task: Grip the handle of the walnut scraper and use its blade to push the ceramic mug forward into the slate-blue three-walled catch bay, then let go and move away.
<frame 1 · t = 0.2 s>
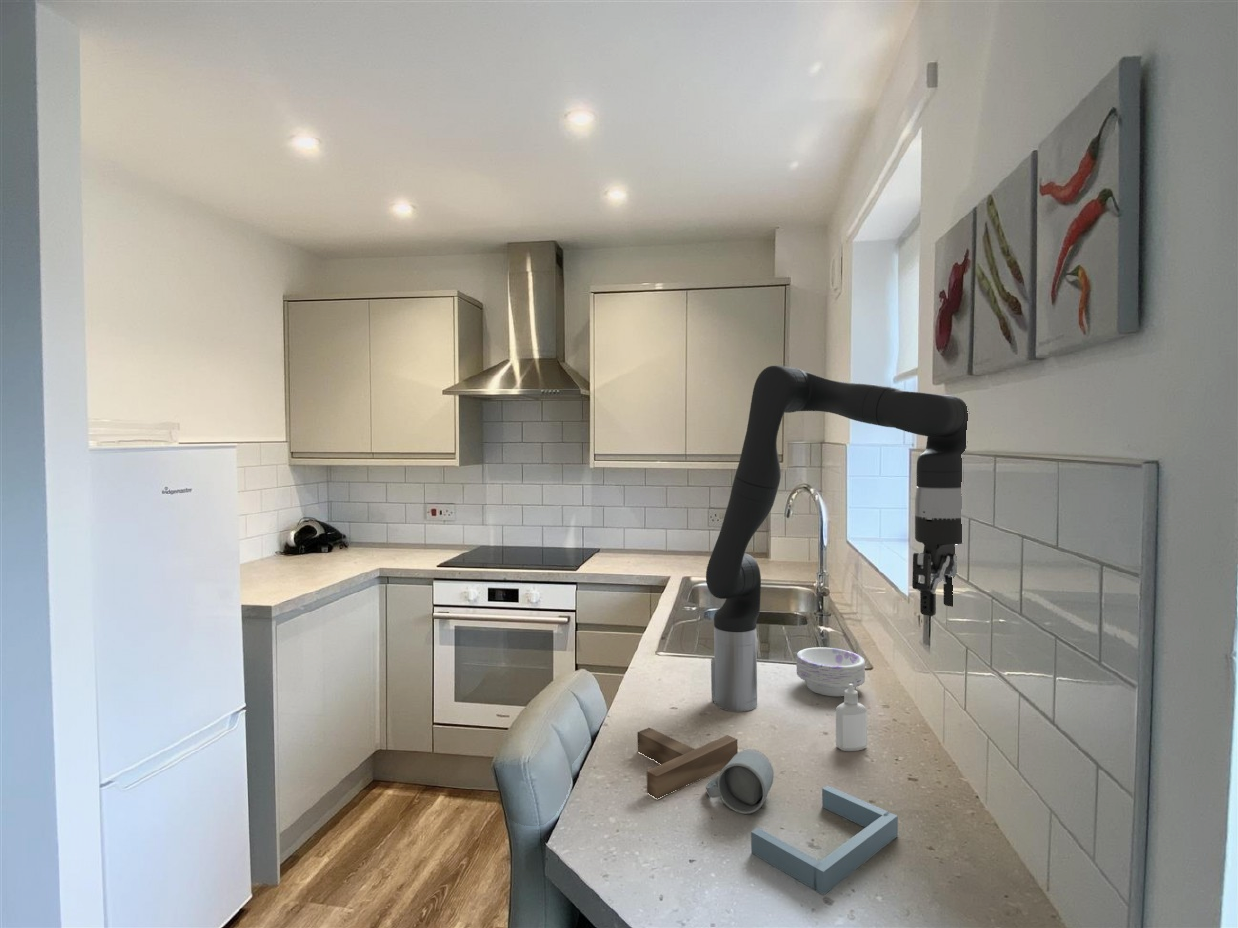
hand: (939, 610, 110), 29 cm above the counter, tool pointing down, fingers open, 8 cm apart
eye dropper bottle: (851, 748, 123), on the counter
scraper: (694, 776, 113), on the counter
paper bowls: (830, 690, 152), on the counter
ceramic mug: (739, 801, 105), on the counter
catch bay: (809, 835, 95), on the counter
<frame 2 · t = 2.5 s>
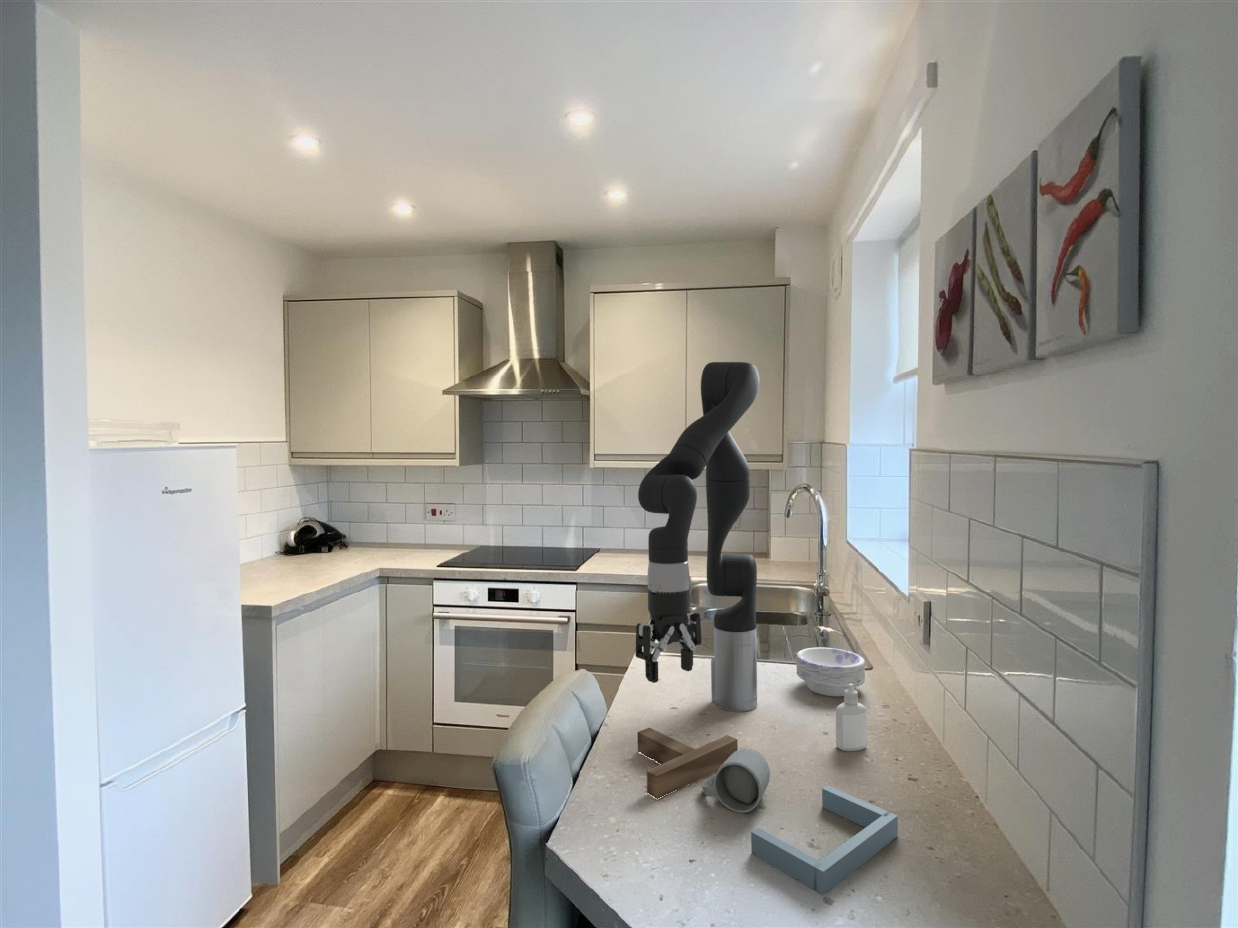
hand: (669, 675, 117), 16 cm above the counter, tool pointing down, fingers open, 8 cm apart
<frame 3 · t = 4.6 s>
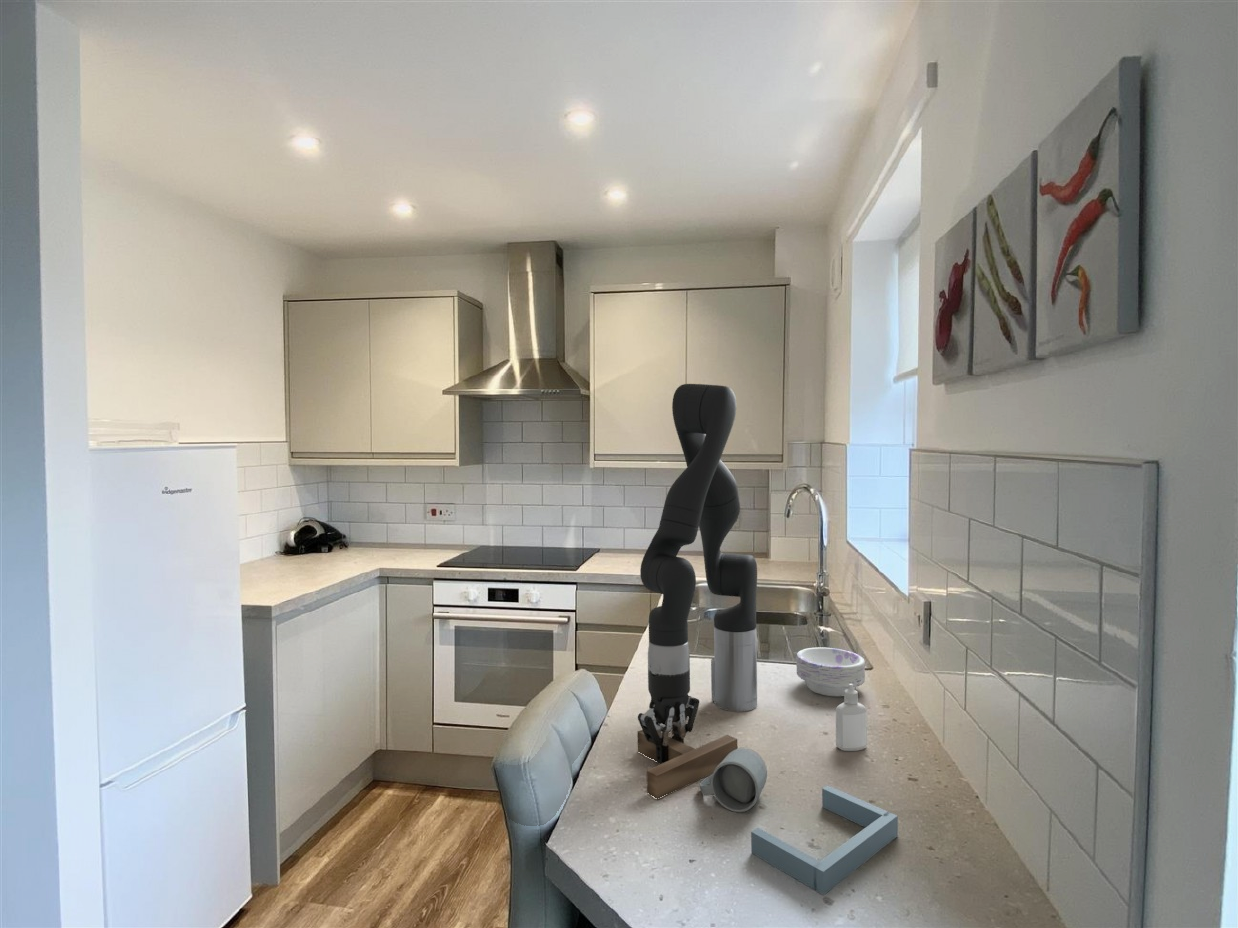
hand: (670, 760, 118), 1 cm above the counter, tool pointing down, fingers closed on scraper, 3 cm apart
scraper: (694, 776, 113), on the counter, touching gripper
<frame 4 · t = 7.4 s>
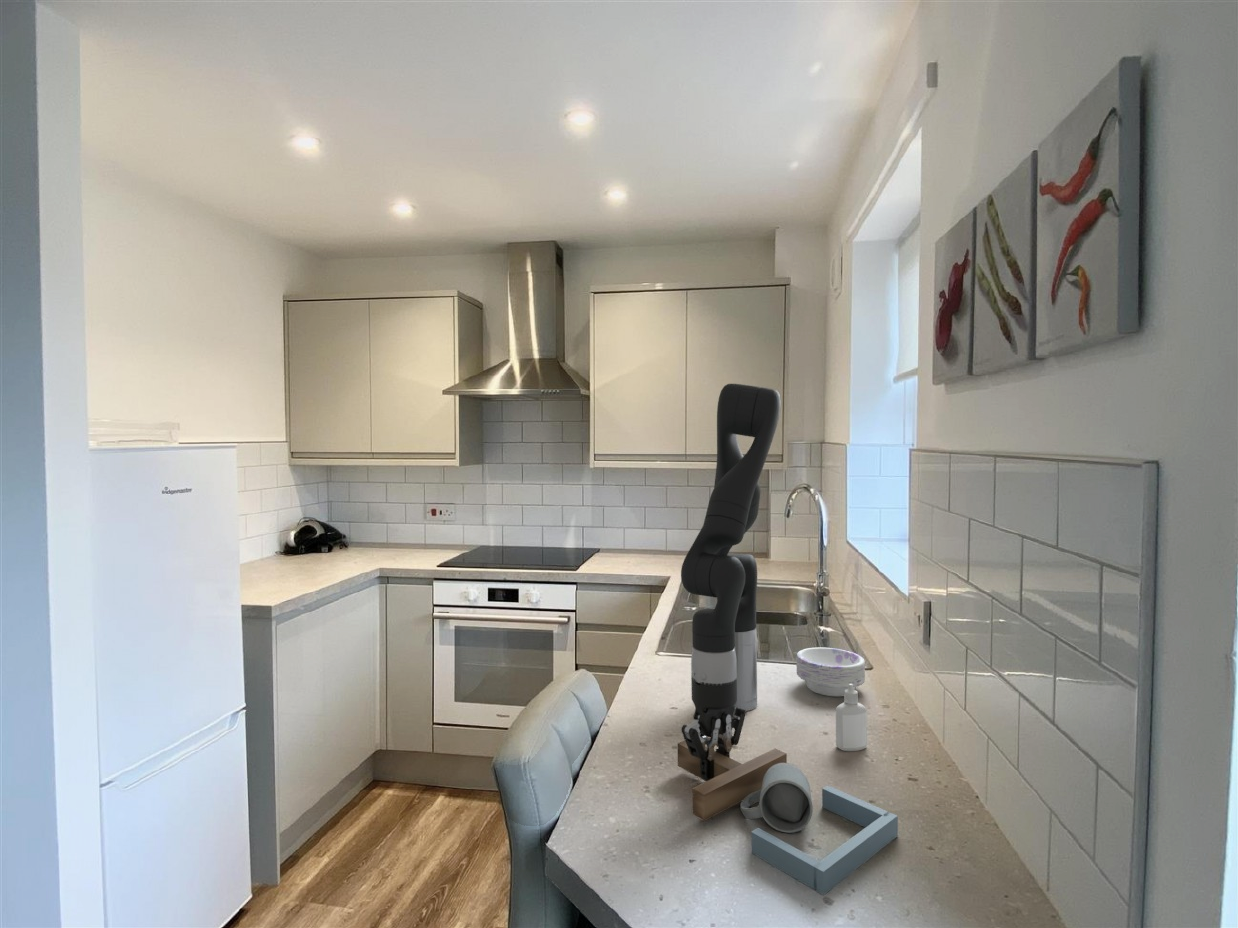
hand: (715, 775, 109), 2 cm above the counter, tool pointing down, fingers closed on scraper, 3 cm apart
scraper: (742, 794, 105), point 1 cm above the counter, touching ceramic mug, gripper
ceramic mug: (777, 819, 100), on the counter, touching scraper
everything else where it was.
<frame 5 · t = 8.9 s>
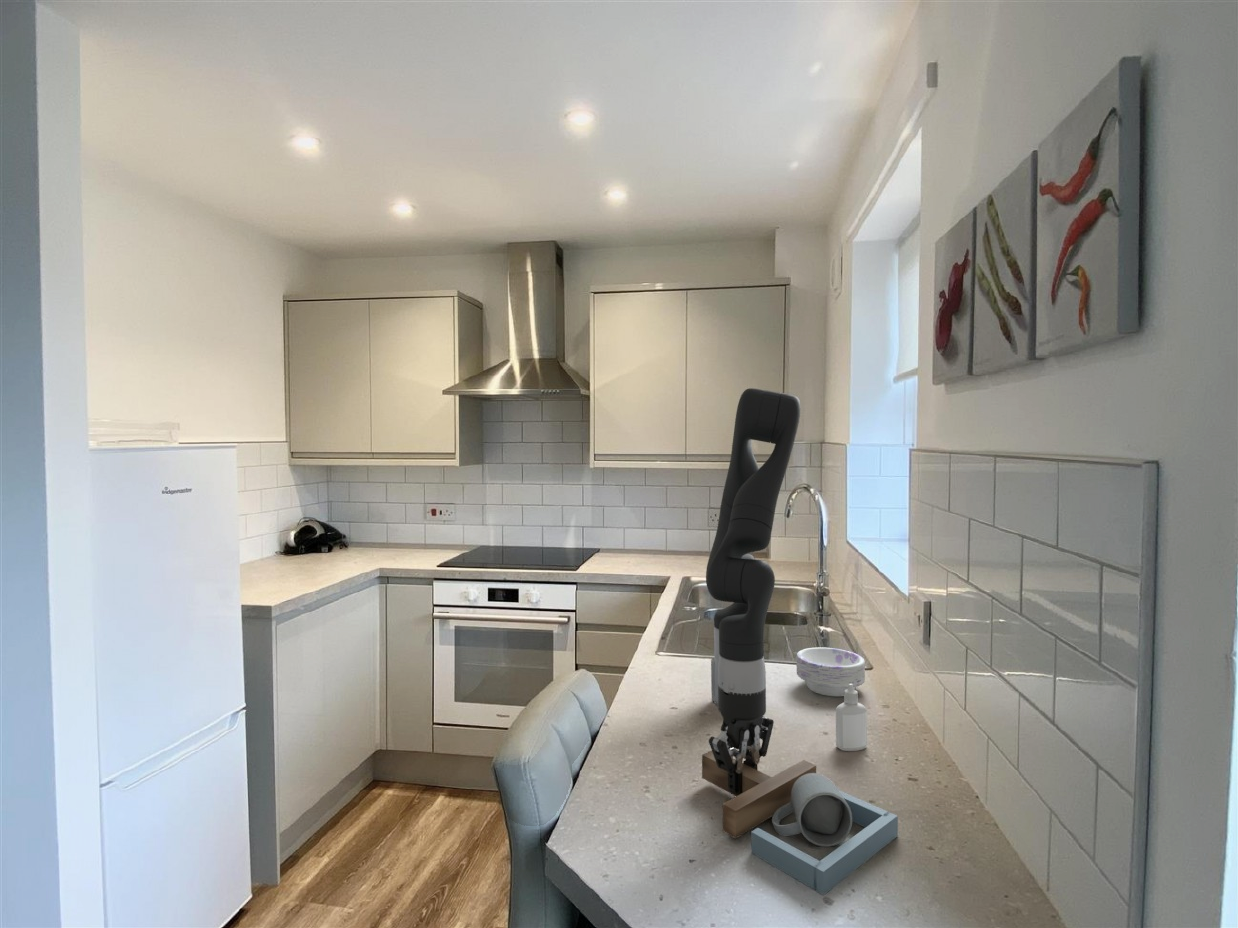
hand: (742, 788, 105), 2 cm above the counter, tool pointing down, fingers closed on scraper, 3 cm apart
scraper: (771, 808, 101), point 1 cm above the counter, touching gripper
ceramic mug: (810, 833, 96), on the counter
everything else where it was.
when the fingers open (2 cm above the counter, at t = 9.7 s): scraper drops 1 cm, on the counter.
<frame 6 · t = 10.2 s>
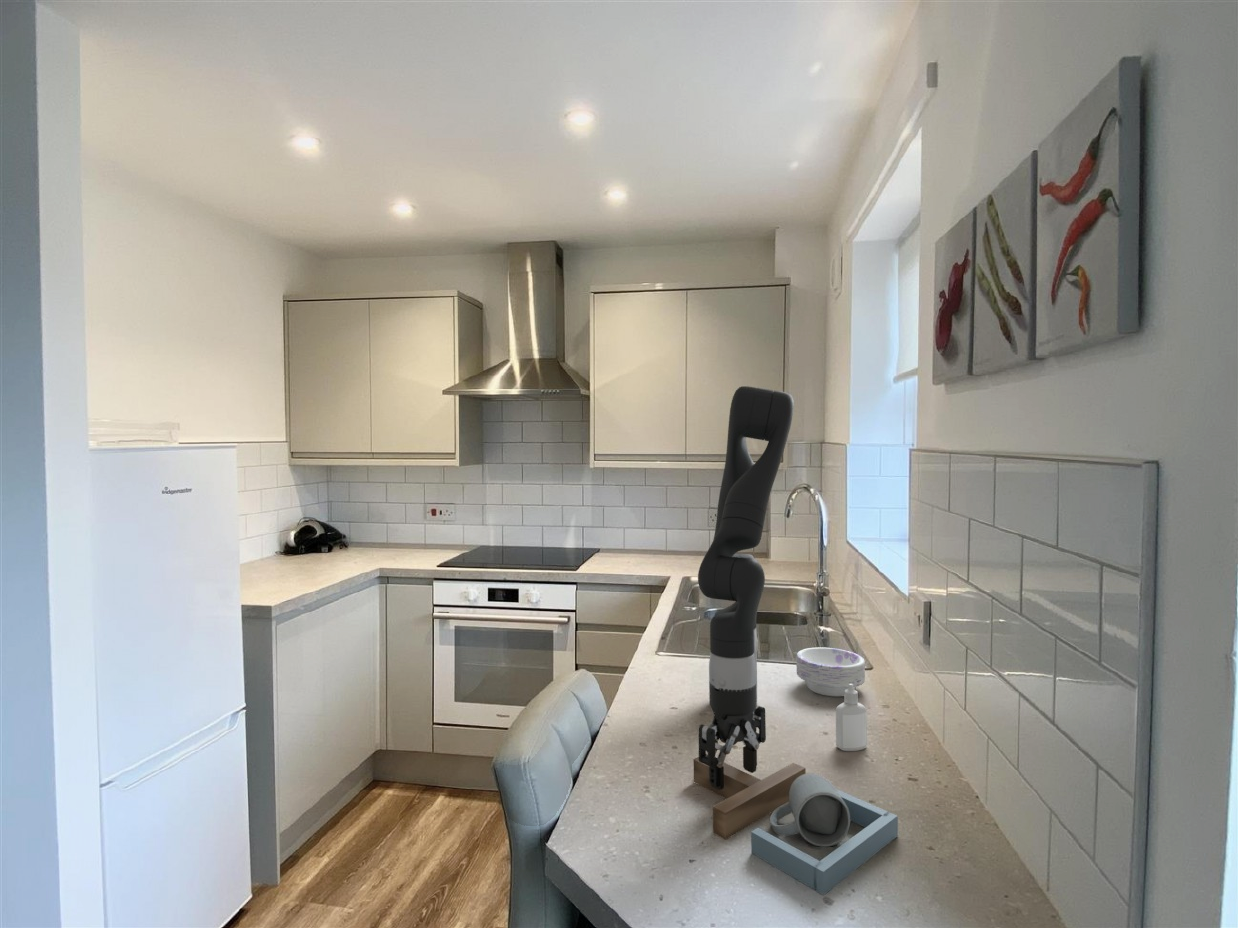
hand: (733, 778, 106), 3 cm above the counter, tool pointing down, fingers open, 7 cm apart
scraper: (761, 811, 102), on the counter
everything else where it was.
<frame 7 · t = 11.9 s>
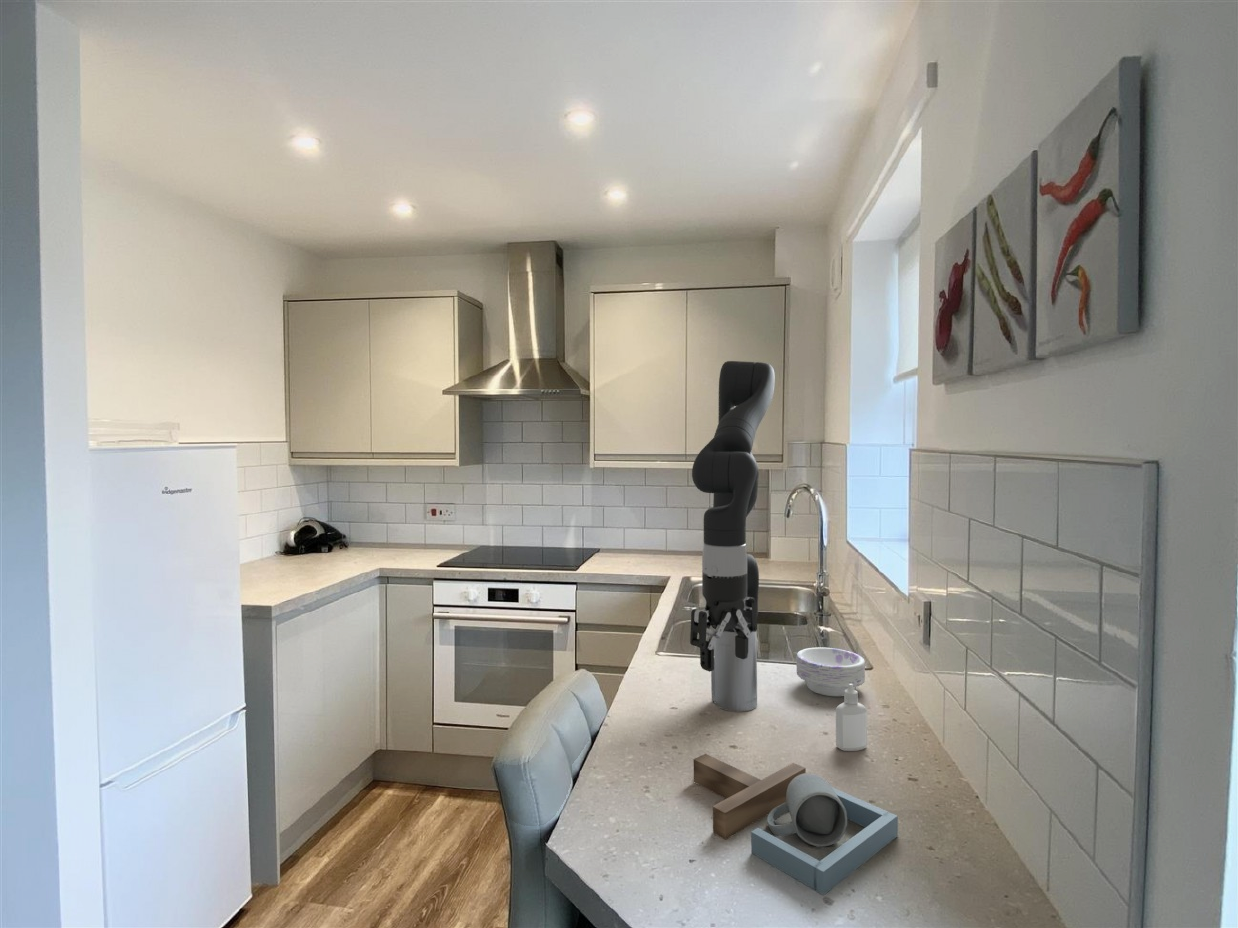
hand: (724, 663, 111), 20 cm above the counter, tool pointing down, fingers open, 8 cm apart
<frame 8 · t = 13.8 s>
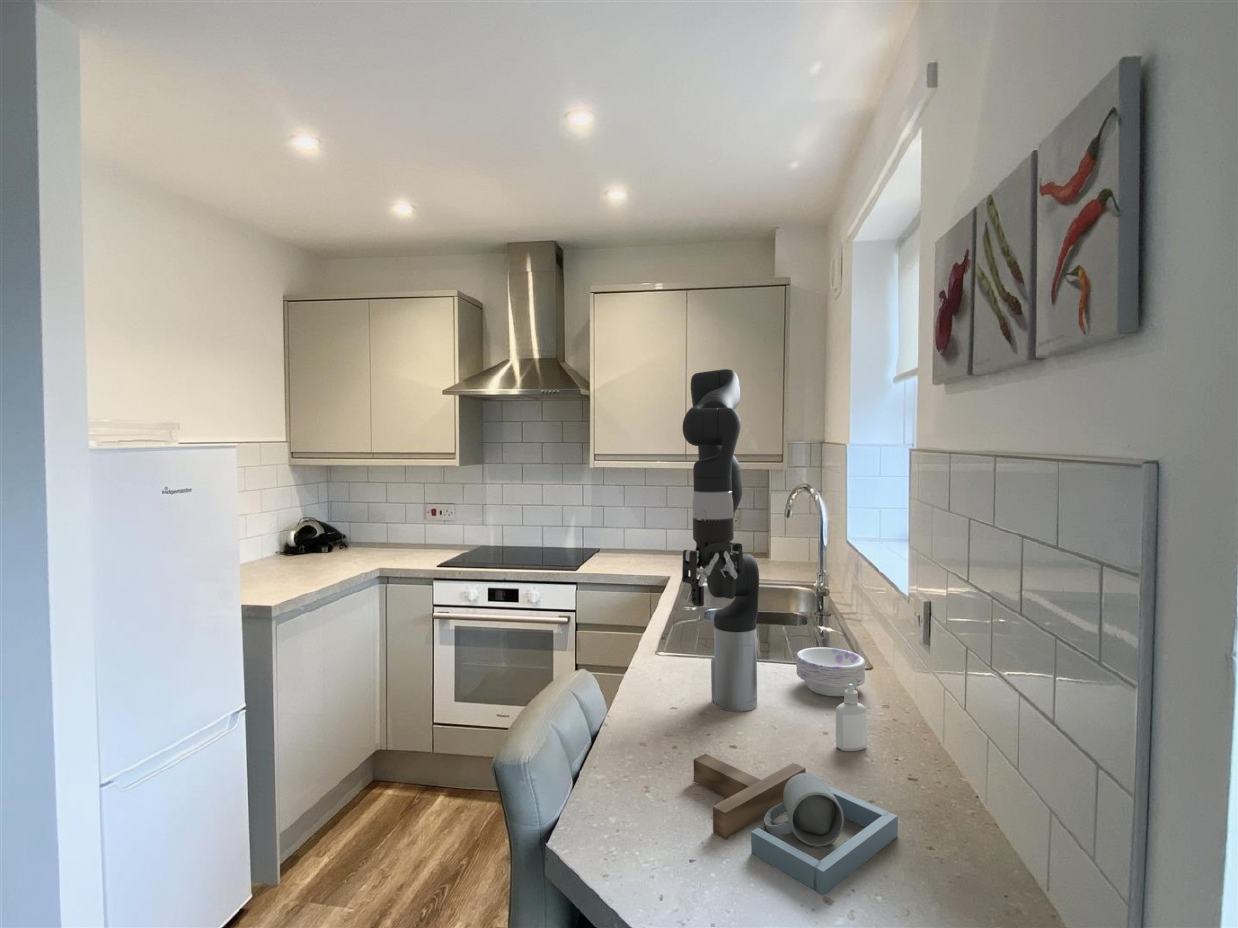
hand: (714, 601, 122), 28 cm above the counter, tool pointing down, fingers open, 8 cm apart
at the end: ceramic mug inside the target area on the catch bay (1.8 cm from its centre), point 0.0 cm above the catch bay's base; ceramic mug tilted 0°; the gripper is holding nothing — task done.
